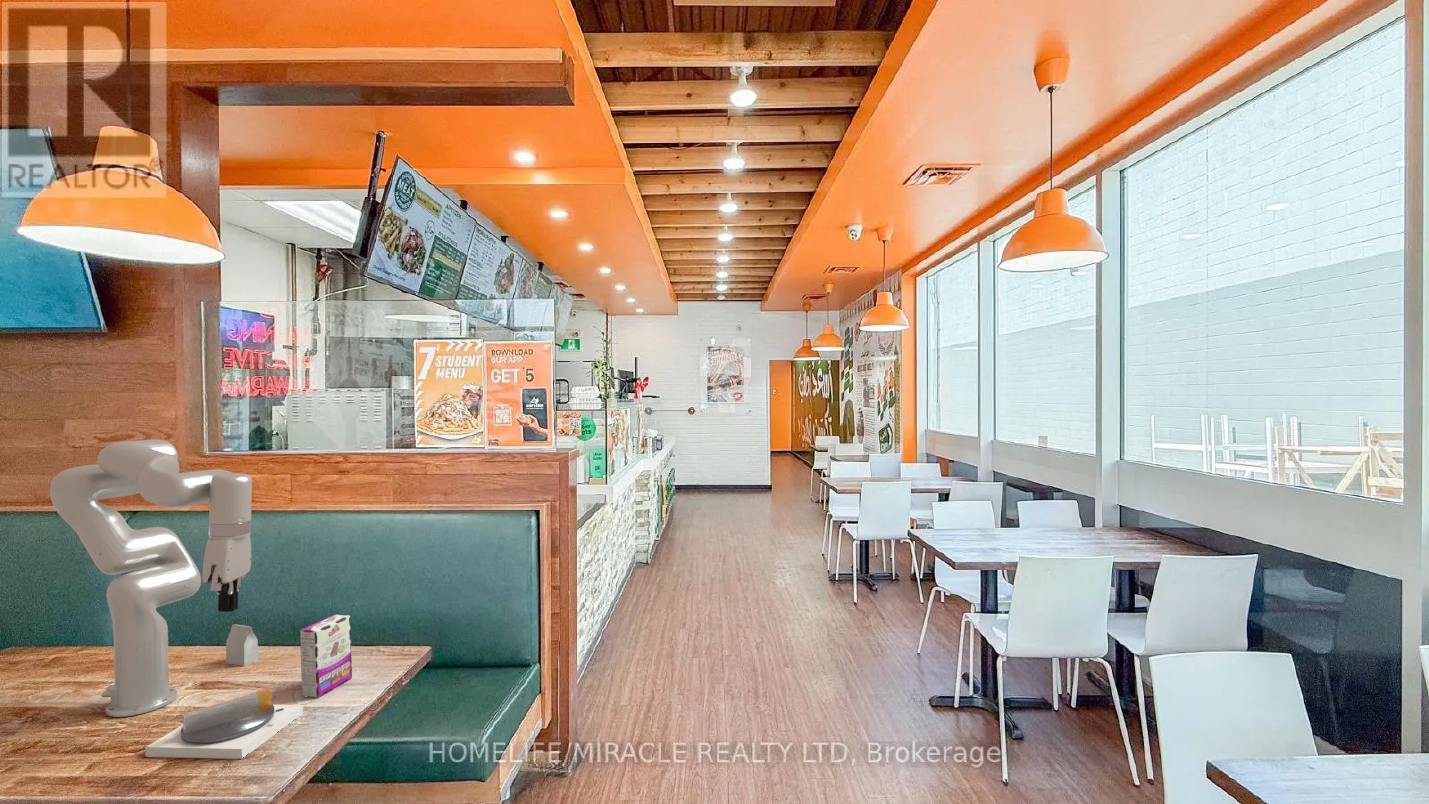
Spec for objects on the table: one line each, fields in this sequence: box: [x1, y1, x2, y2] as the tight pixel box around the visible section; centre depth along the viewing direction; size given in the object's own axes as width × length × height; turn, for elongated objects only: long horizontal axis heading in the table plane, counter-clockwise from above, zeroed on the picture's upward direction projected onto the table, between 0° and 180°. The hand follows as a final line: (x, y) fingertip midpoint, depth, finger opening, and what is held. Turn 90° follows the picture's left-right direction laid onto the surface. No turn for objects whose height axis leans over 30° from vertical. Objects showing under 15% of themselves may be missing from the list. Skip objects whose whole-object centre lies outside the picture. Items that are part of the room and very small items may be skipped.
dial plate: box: [145, 704, 304, 760], centre depth 138 cm, size 20×18×2 cm
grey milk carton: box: [225, 623, 259, 667], centre depth 175 cm, size 4×7×10 cm, turn 72°
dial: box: [181, 688, 274, 744], centre depth 138 cm, size 16×16×5 cm
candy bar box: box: [299, 614, 353, 699], centre depth 159 cm, size 11×5×16 cm, turn 168°
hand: (228, 610), depth 144 cm, fingers closed
